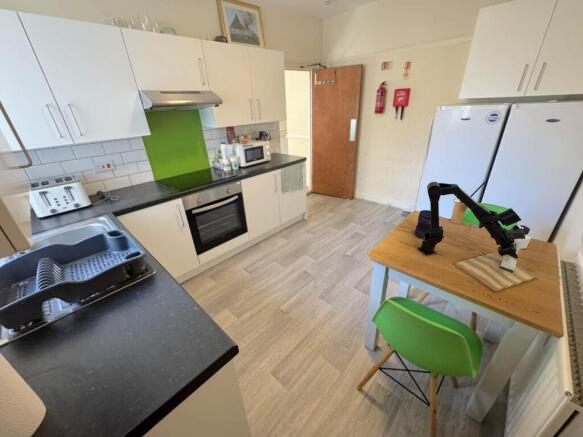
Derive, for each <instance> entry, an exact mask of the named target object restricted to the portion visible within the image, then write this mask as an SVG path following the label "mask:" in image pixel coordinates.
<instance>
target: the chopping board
mask: <svg viewBox="0 0 583 437" xmlns="http://www.w3.org/2000/svg"><path fill="white" fill-rule="evenodd" d="M502 259H503V256H500V255H499V254H496V253H494V252H490V253H486V254H482V255H479V256H476V257H472V258H468V259H464V260H461V261H457V262H455V263H454V266H455V267H457V268H458V269H460V270H461V271H463V272H464V273H466V274H468V276H470V277H472V278H473V279H475V280H476V281H478V282H479V283H481V284H482V285H483V286H485V287H486V288H488V289H490V290H491V291H493V292H494V293H496V292H498V291H502V290H505V289H508V288H510V287H514V286H518V285H519V284H524V283H526V282H529V281H532V280H536V278H538V277H537V275H534V274H533V273H531V272H529V271H528V270H526V269H524V268H523V267H520V266H518V265H516V266H515V269H514V271H513V273H511V272H508V271H505V270H502V269H500V268H499V267H500V264H501V262H502Z"/></svg>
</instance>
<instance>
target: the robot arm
mask: <svg viewBox="0 0 583 437" xmlns="http://www.w3.org/2000/svg"><path fill="white" fill-rule="evenodd" d="M426 189H427V196H428V199H429V207H430V209H429V210H430V212H431V225H430V229H429V232H427V233H425V234H424V239H422V241H421V244H420V247H418V248H417V250H418V251H419V252H421V253H422V254H423V255H425V256H429V255H434V254H436V253H437V252H436V251H435V248H436V246H437V245H438V244H439V243H441V242H443V239H445V237H444V226H443V225H441V226H440V199H441V197H442V196H448V195H453V196H454V197H455V198H458V199H459V200H460V201H461V202H462V203H464V204H465V205H466V206H467V207H468V210H470V212H471V213H472V214H473V216H474V217H475V218H476V220H477V221H478V225H477V227H478V229H483V228H484V229H485V230H486V231H487V233H488V234H489V236H490V238H491V239H493V240H494V241H495V244H496V246H498V247H497V254H498V255H499V256H500V257H504V256H508V255H509V256H511V257H513V258H515V260H517V259H519V255H518V254H516V251H517V249H516V245H514V244H513V243H514V241H515V240H514V239H525V232H524V229H522V228H520V227H519V226H518V225H519V224H516V223H518V222H521V221H522V218H521V217H520V216H519V215H518V214H517V212H516V211H514V209H513V208H512V207H510V208H508V209H506V210H504V211H502V212H499V213H498V212H497V211H494V210H491V209H489V208H488V207H486V206H485V205H482V204H481V203H478V202H477V201H476V200H474V198H472V197H470V196H471V195H469V194H468V193H467V192H466V191H464V190H463V189H462V188H461V187H460V186H459V184H457V183H445V182H437V181H430V182H429V183H428V184H427V185H426ZM514 224H515V225H514ZM511 225H512V227H511V228H510V229H507V228H506V227H509V226H511ZM503 226H505V227H503Z"/></svg>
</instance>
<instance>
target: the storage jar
mask: <svg viewBox="0 0 583 437" xmlns="http://www.w3.org/2000/svg"><path fill="white" fill-rule="evenodd" d="M430 225H431V212H430V209H421V210H420V211H419V214H418V216H417V224H416V226H415V230H414V236H415V237H416V238H418V239H421V240H424V234H425V233H427V232H429V229H430Z"/></svg>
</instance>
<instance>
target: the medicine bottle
mask: <svg viewBox="0 0 583 437" xmlns="http://www.w3.org/2000/svg"><path fill="white" fill-rule="evenodd" d="M517 225H518V226H519V227H520V228H522V229H524V232H525V239H514V240H515V241H514V243H515V242H521V243H522V246H521V248H520V250H522V249H523V250H525V249H527V247H528V246H529V243H530V242H531V239H532V237H531V236H529V233H530V231H531V228H530V227H529V226H526V225H523V224H517ZM514 243H513V244H514Z"/></svg>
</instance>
